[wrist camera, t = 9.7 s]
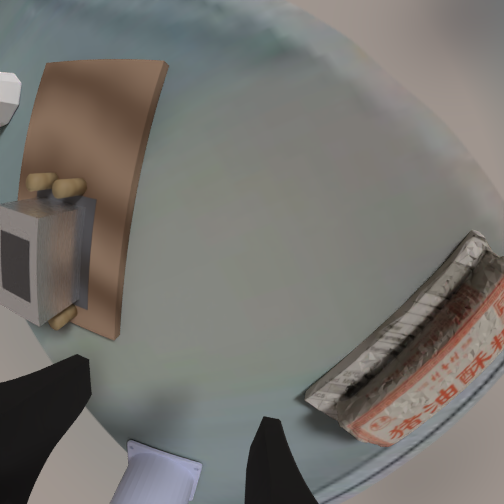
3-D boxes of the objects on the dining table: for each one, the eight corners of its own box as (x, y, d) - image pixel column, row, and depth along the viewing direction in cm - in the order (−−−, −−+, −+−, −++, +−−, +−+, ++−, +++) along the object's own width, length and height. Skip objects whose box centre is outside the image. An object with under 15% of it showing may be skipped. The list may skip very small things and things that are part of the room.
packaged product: (508, 236, 13) (544, 324, 14) (468, 223, 18) (513, 302, 19) (304, 430, 17) (382, 472, 18) (301, 387, 22) (371, 435, 23)
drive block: (79, 299, 20) (39, 327, 15) (39, 281, 20) (-2, 303, 15) (85, 207, 18) (37, 218, 14) (43, 196, 18) (-4, 204, 14)
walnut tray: (119, 334, 22) (98, 356, 18) (23, 291, 22) (-1, 305, 19) (169, 65, 17) (149, 46, 13) (53, 66, 17) (27, 55, 14)
